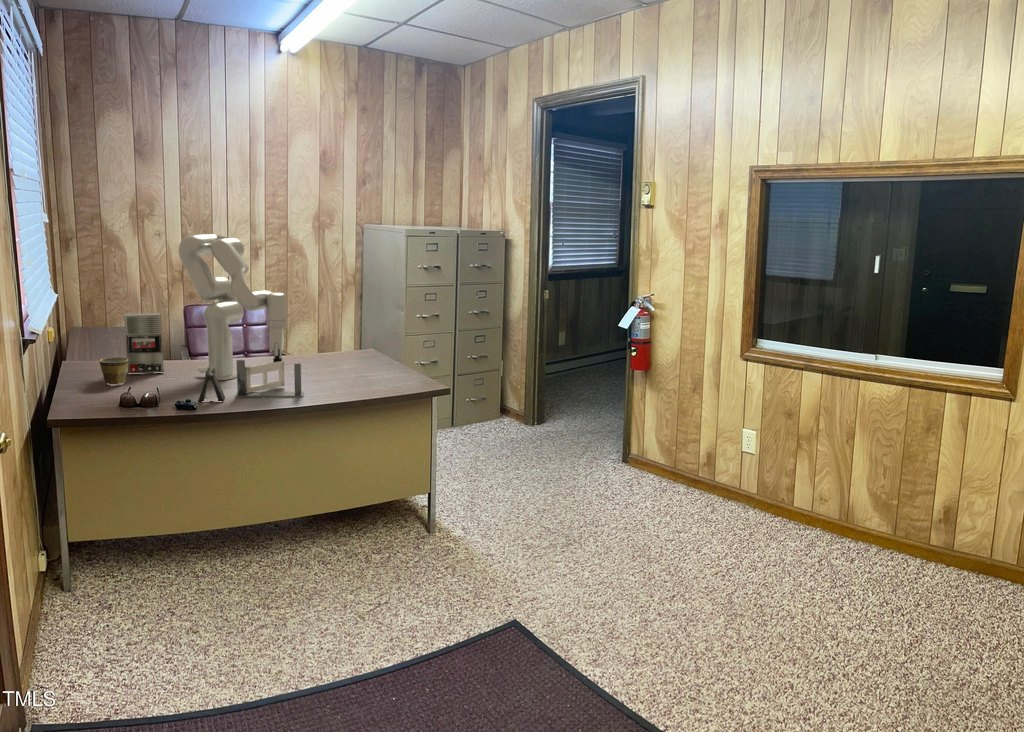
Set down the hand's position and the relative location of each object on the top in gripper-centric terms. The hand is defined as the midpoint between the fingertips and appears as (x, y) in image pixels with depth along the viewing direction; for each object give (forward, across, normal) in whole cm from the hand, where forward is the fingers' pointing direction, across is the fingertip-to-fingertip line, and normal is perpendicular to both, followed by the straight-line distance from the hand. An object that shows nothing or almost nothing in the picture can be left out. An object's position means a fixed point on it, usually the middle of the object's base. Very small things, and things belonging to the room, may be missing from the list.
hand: (277, 367), depth 313 cm
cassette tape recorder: (+7, -21, -55) cm, 59 cm away
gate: (+6, +11, -4) cm, 13 cm away
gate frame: (+7, +17, -2) cm, 19 cm away
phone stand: (+7, +23, -22) cm, 33 cm away
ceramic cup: (+7, -3, -63) cm, 64 cm away
